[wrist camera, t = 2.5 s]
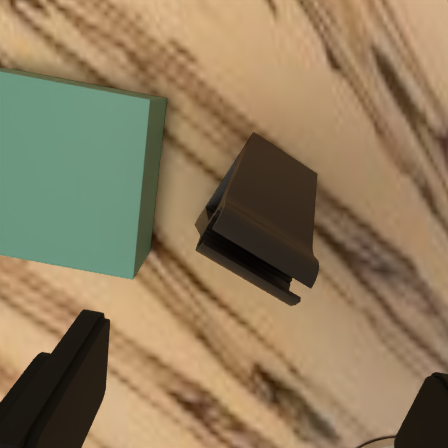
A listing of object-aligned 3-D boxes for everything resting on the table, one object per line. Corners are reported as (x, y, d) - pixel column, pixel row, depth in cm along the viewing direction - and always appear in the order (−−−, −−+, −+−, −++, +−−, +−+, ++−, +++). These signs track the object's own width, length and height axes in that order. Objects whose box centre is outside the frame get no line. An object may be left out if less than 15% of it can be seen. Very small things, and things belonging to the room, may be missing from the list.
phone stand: (253, 131, 27) (258, 159, 16) (316, 173, 28) (363, 228, 17) (194, 222, 30) (163, 300, 19) (253, 258, 31) (256, 353, 20)
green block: (166, 98, 26) (149, 99, 22) (150, 251, 31) (133, 279, 26) (10, 68, 26) (-41, 63, 22) (16, 226, 31) (-24, 250, 26)
